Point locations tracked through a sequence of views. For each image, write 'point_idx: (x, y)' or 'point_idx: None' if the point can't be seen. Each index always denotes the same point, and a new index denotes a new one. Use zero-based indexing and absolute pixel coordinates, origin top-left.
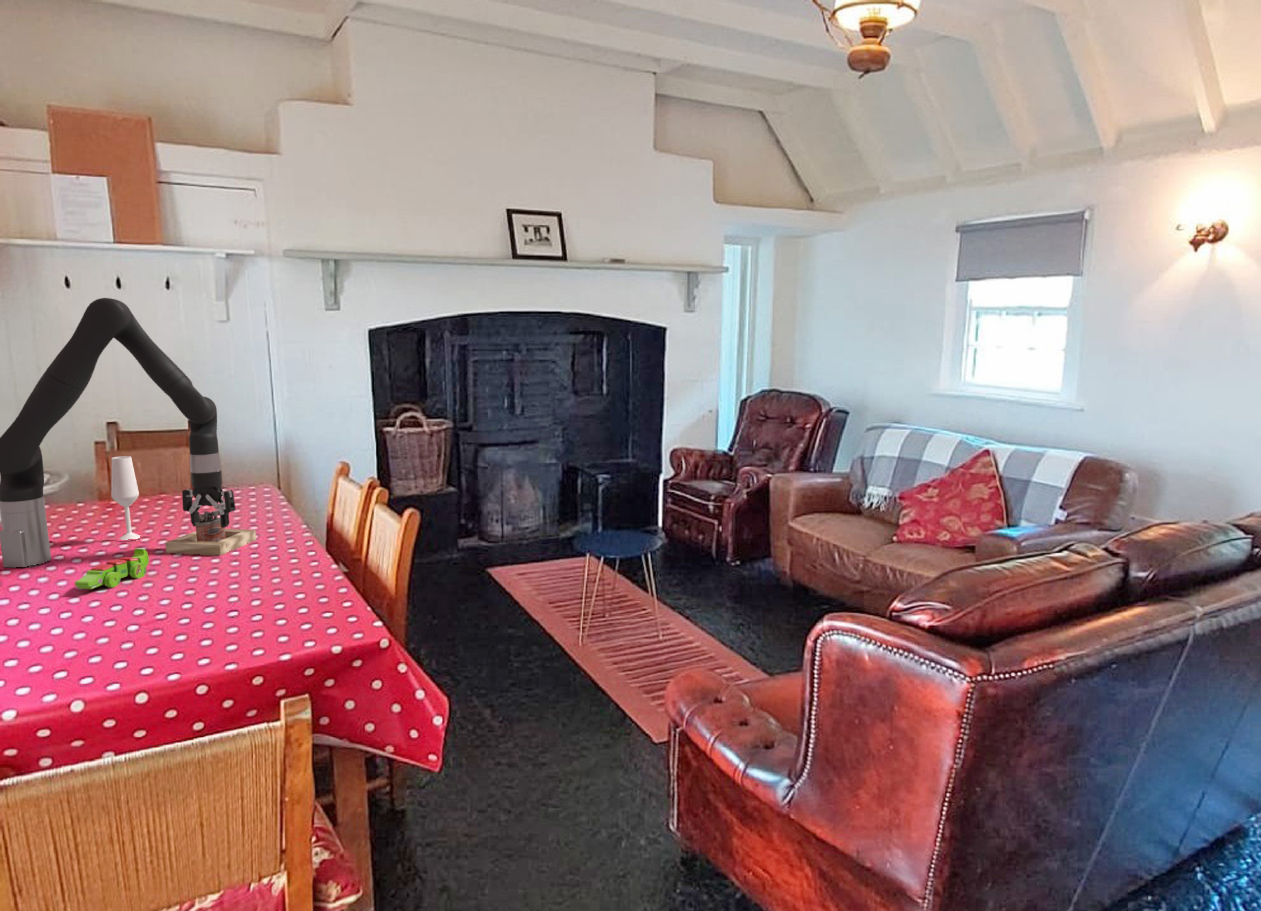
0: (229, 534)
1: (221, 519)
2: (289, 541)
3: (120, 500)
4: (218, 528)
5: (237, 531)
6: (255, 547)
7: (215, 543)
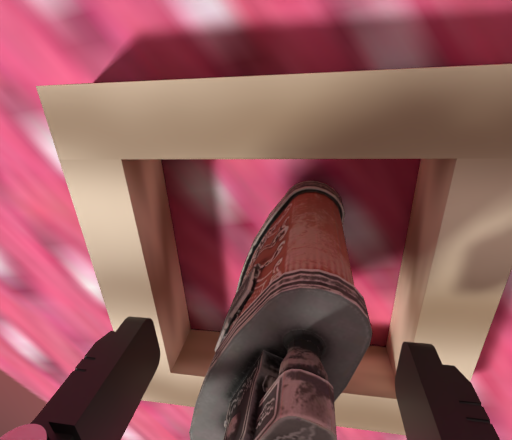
0: None
1: (96, 375)
2: (20, 340)
3: None
4: (219, 339)
5: (199, 378)
6: (64, 257)
7: (96, 119)
